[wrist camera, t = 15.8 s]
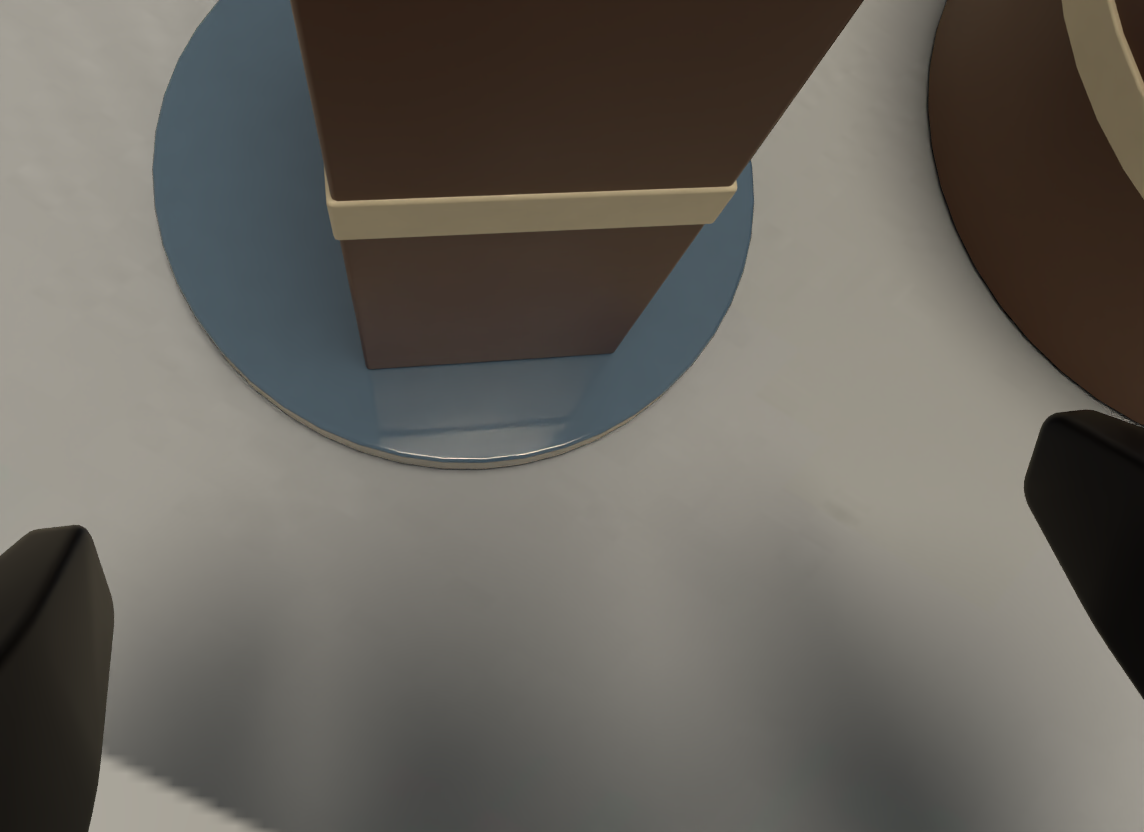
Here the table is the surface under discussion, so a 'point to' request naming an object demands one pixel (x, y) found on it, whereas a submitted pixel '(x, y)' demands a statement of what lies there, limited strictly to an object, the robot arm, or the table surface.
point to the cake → (1051, 174)
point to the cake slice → (537, 156)
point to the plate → (321, 290)
